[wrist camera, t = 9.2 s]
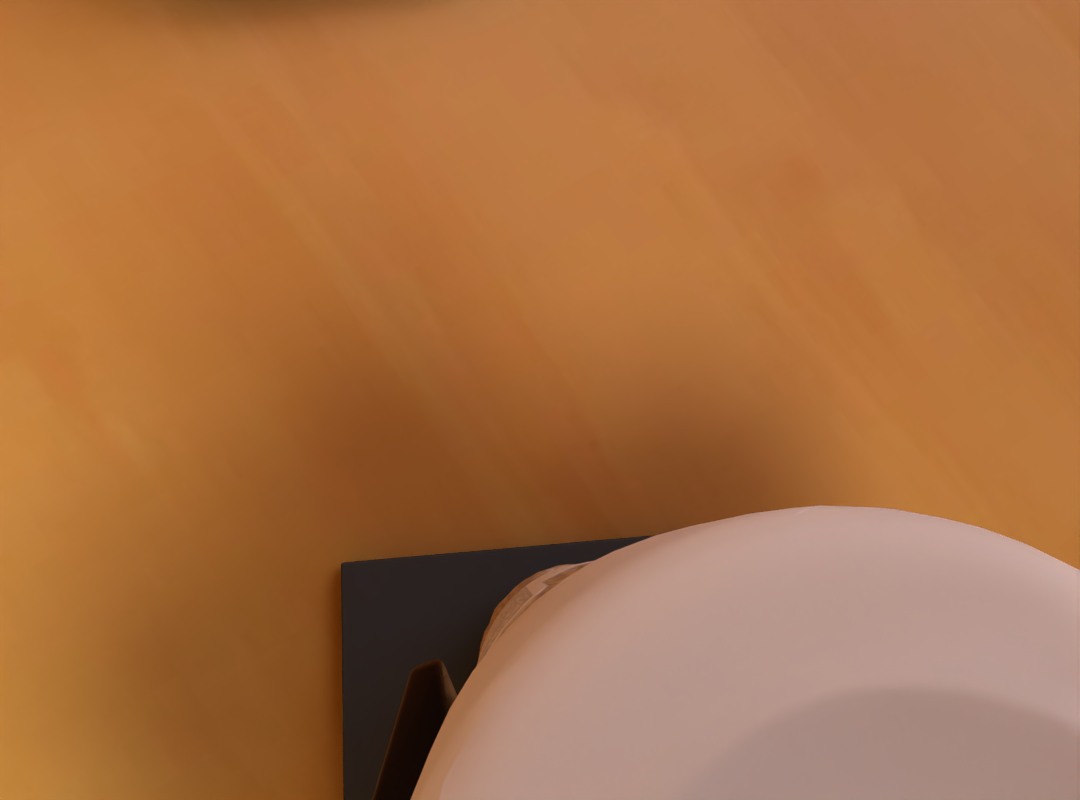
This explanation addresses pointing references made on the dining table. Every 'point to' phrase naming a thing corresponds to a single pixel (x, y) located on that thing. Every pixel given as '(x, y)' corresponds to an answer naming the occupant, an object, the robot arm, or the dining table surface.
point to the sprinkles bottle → (778, 669)
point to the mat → (423, 632)
